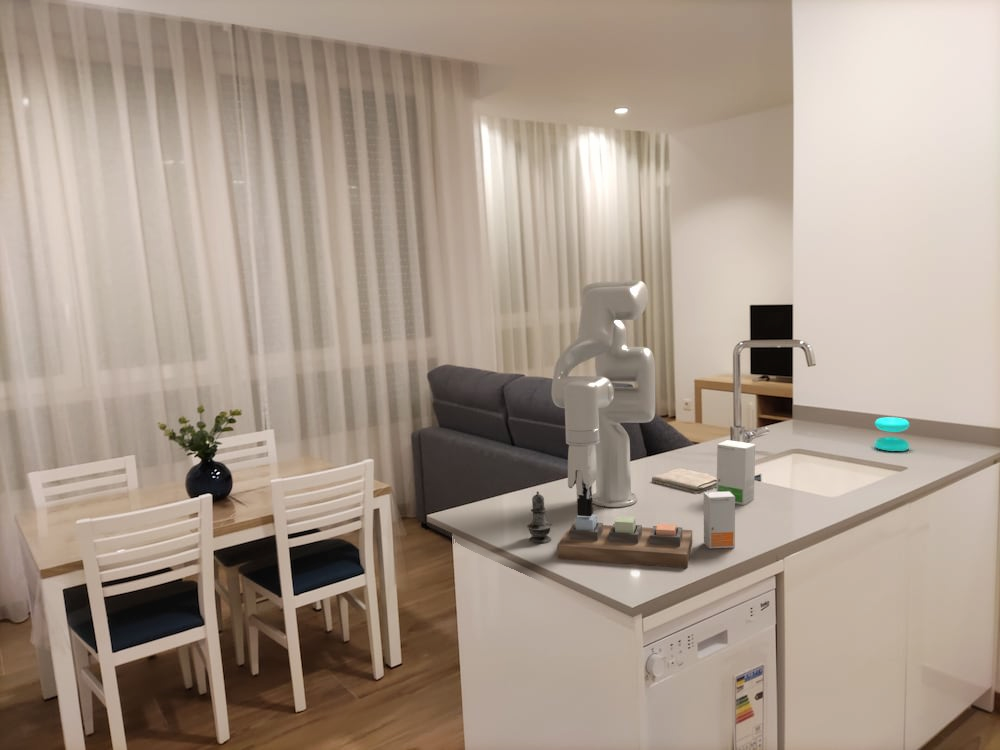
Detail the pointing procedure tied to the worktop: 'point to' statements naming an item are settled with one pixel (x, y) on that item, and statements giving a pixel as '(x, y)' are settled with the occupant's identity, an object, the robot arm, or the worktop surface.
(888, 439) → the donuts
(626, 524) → the green button
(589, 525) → the blue button
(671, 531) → the terracotta button
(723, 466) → the skincare box
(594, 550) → the console
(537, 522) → the dark grey figurine
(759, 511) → the worktop surface
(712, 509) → the skincare box
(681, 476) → the washcloth
